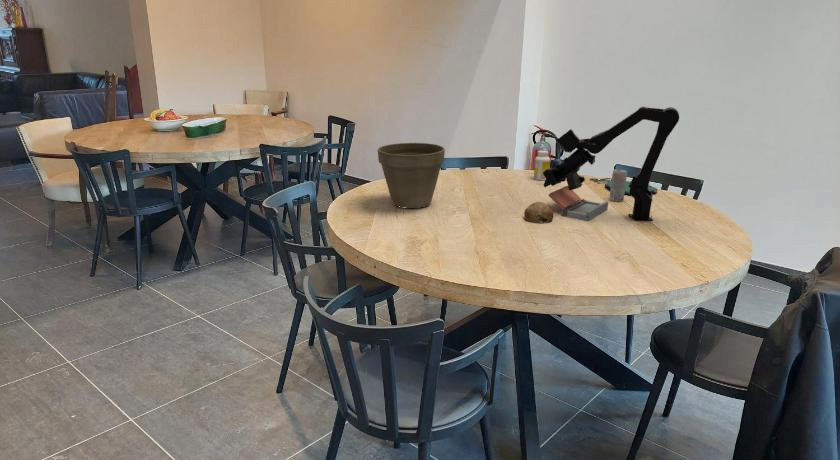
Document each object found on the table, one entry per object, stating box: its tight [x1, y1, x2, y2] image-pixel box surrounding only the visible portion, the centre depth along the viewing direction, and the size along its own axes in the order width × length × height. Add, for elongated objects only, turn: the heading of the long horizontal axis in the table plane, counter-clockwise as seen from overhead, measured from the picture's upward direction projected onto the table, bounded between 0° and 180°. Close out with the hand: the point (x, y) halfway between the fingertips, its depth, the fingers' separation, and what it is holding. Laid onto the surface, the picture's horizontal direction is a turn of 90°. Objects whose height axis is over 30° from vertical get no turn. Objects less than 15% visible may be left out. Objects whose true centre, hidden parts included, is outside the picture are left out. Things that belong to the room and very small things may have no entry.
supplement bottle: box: [533, 150, 551, 182], centre depth 252 cm, size 7×7×13 cm
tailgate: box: [548, 185, 582, 210], centre depth 208 cm, size 2×15×8 cm
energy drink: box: [608, 168, 628, 203], centre depth 219 cm, size 5×5×12 cm
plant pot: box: [377, 142, 446, 209], centre depth 210 cm, size 25×25×22 cm
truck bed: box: [567, 200, 609, 222], centre depth 203 cm, size 8×18×3 cm, turn 142°
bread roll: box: [523, 201, 554, 224], centre depth 196 cm, size 10×10×8 cm
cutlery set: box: [589, 177, 658, 195], centre depth 241 cm, size 20×30×2 cm, turn 14°
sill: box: [561, 198, 587, 218], centre depth 207 cm, size 2×18×2 cm, turn 141°
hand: (544, 186), depth 212 cm, fingers closed
